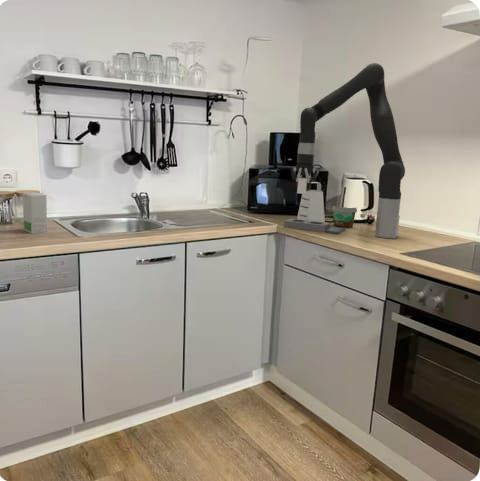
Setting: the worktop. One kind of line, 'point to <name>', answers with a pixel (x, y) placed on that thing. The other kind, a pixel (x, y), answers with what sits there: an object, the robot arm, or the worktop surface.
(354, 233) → the worktop surface
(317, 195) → the grater
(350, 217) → the food container
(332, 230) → the phone
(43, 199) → the skincare box
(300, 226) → the power strip
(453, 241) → the worktop surface
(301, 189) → the block
